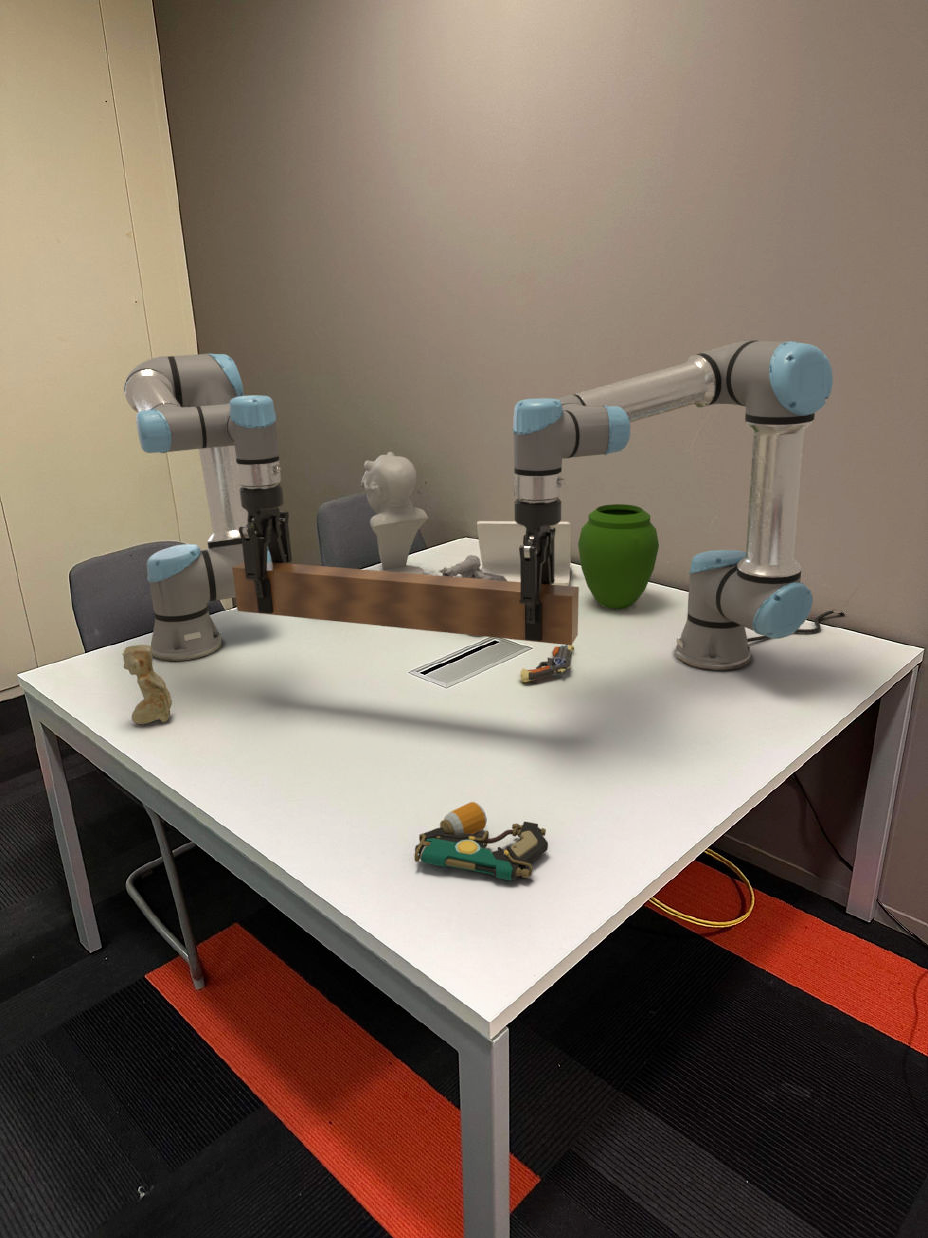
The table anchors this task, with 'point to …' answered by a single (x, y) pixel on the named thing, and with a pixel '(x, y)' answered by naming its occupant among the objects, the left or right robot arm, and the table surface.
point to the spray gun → (480, 845)
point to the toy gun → (550, 664)
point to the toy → (470, 570)
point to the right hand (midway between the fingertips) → (538, 633)
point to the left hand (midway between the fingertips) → (273, 607)
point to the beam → (411, 601)
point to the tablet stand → (503, 549)
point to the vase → (618, 554)
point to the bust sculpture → (393, 510)
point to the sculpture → (147, 686)
